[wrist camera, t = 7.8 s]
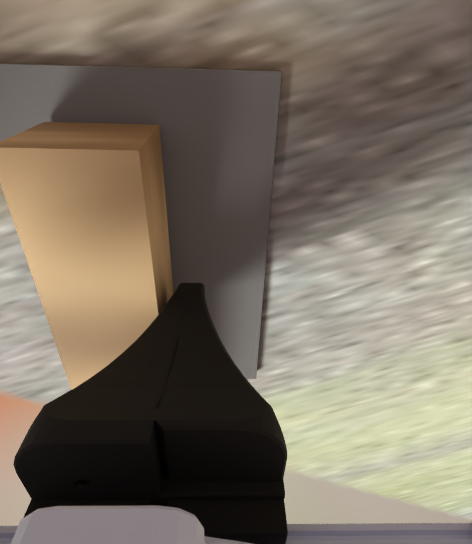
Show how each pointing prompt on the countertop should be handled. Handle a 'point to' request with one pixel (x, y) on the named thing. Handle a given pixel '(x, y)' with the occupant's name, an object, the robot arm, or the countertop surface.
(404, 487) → the countertop surface
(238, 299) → the seat mat
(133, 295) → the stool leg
